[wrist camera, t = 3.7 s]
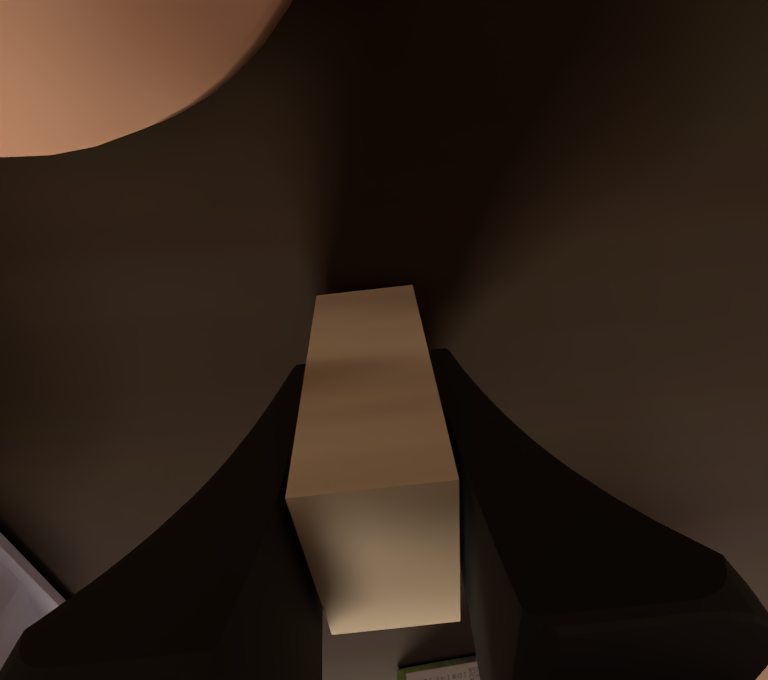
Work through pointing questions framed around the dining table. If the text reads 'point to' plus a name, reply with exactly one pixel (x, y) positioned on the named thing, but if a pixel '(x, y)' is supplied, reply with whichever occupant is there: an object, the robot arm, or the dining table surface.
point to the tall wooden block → (375, 468)
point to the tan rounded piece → (116, 65)
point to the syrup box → (442, 670)
